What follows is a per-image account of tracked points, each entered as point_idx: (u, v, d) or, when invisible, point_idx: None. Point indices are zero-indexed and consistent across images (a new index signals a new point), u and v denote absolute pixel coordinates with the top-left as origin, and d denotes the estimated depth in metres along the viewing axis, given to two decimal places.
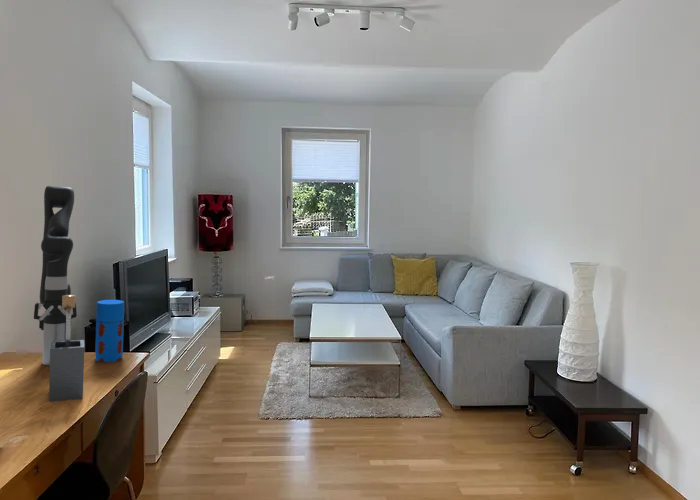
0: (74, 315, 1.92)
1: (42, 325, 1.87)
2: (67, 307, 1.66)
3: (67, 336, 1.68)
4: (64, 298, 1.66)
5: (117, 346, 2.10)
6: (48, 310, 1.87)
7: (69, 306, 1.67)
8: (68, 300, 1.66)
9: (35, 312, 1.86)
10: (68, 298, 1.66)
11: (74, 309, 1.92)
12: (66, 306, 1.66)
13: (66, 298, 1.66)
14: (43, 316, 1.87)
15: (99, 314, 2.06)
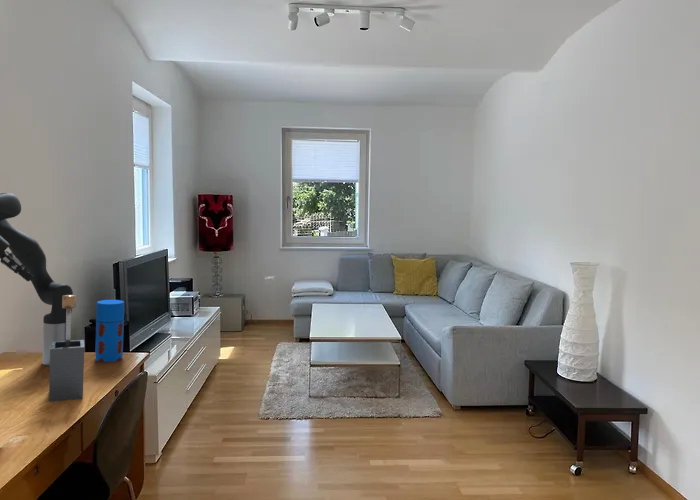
0: (19, 261, 1.64)
1: None
2: (67, 307, 1.66)
3: (67, 336, 1.68)
4: (64, 298, 1.66)
5: (117, 346, 2.10)
6: (15, 258, 1.56)
7: (69, 306, 1.67)
8: (68, 300, 1.66)
9: (16, 262, 1.53)
10: (68, 298, 1.66)
11: None
12: (66, 306, 1.66)
13: (66, 298, 1.66)
14: (20, 265, 1.56)
15: (99, 314, 2.06)
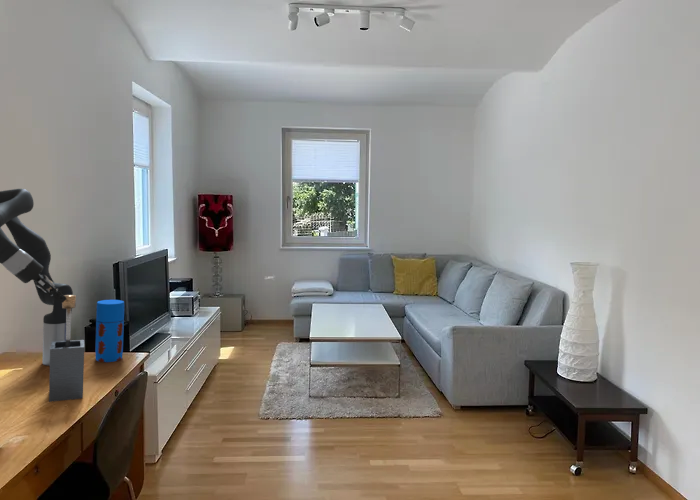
0: None
1: None
2: (67, 307, 1.66)
3: (67, 336, 1.68)
4: None
5: (117, 346, 2.10)
6: (49, 280, 1.61)
7: (69, 306, 1.67)
8: (68, 300, 1.66)
9: (50, 285, 1.58)
10: (68, 298, 1.66)
11: None
12: (66, 306, 1.66)
13: None
14: (54, 287, 1.61)
15: (99, 314, 2.06)
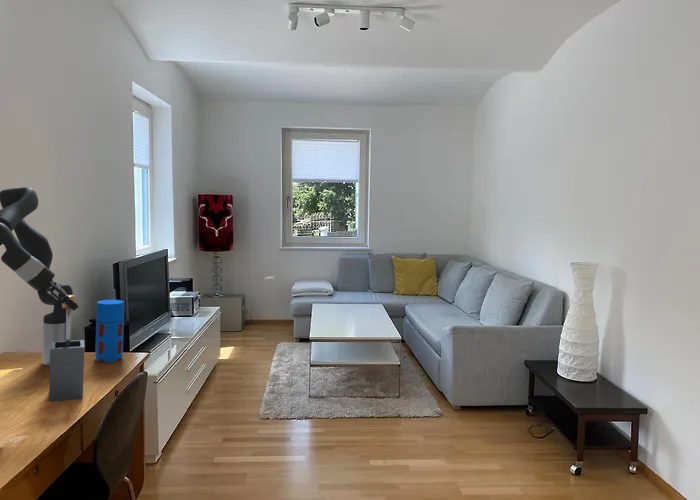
0: None
1: None
2: (67, 307, 1.66)
3: (67, 336, 1.68)
4: None
5: (117, 346, 2.10)
6: (60, 288, 1.65)
7: None
8: None
9: (64, 294, 1.62)
10: None
11: None
12: (66, 306, 1.66)
13: None
14: (66, 295, 1.65)
15: (99, 314, 2.06)
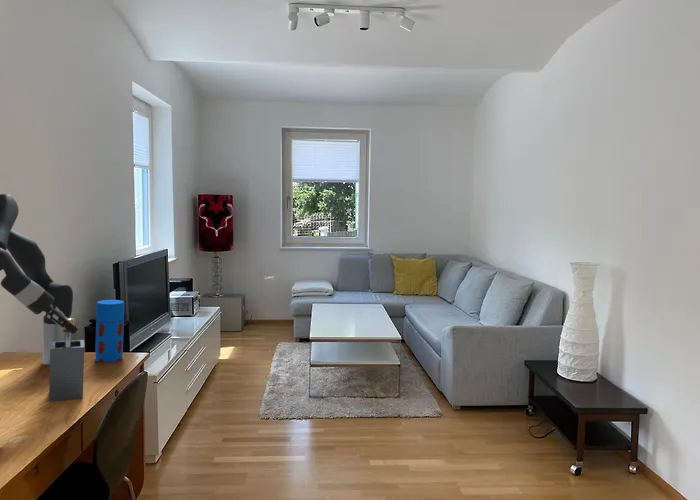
0: (64, 315, 1.72)
1: None
2: (66, 331, 1.67)
3: None
4: None
5: (117, 346, 2.10)
6: (60, 311, 1.65)
7: None
8: None
9: (63, 318, 1.63)
10: None
11: None
12: (65, 330, 1.67)
13: None
14: (65, 318, 1.66)
15: (99, 314, 2.06)
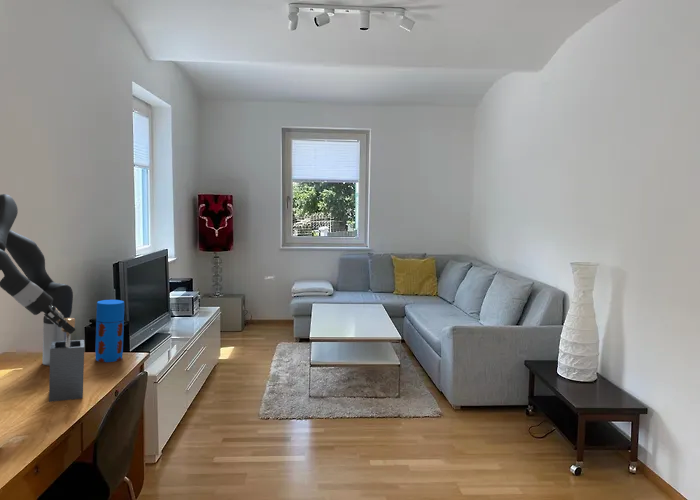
0: None
1: None
2: None
3: None
4: None
5: (117, 346, 2.10)
6: (58, 312, 1.64)
7: None
8: None
9: (60, 317, 1.61)
10: (67, 322, 1.67)
11: None
12: None
13: None
14: (63, 318, 1.64)
15: (99, 314, 2.06)
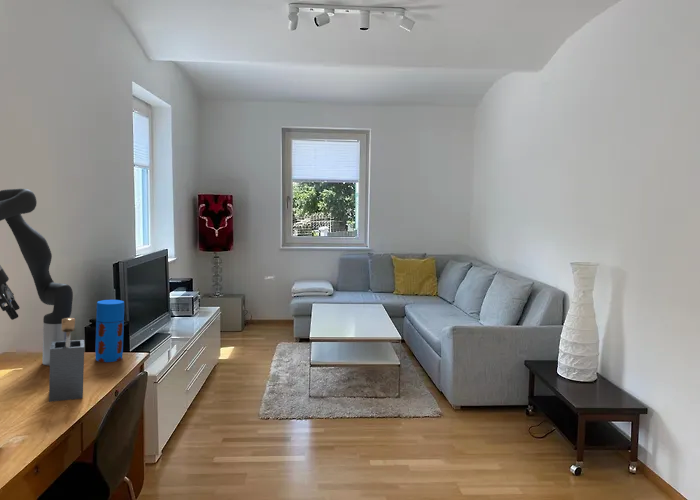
0: (12, 293, 1.67)
1: (15, 312, 1.59)
2: (66, 330, 1.67)
3: None
4: (63, 321, 1.67)
5: (117, 346, 2.10)
6: (8, 294, 1.59)
7: (68, 329, 1.67)
8: (68, 323, 1.67)
9: (7, 300, 1.55)
10: (67, 322, 1.67)
11: (8, 287, 1.66)
12: (65, 329, 1.67)
13: (65, 321, 1.67)
14: (10, 302, 1.58)
15: (99, 314, 2.06)
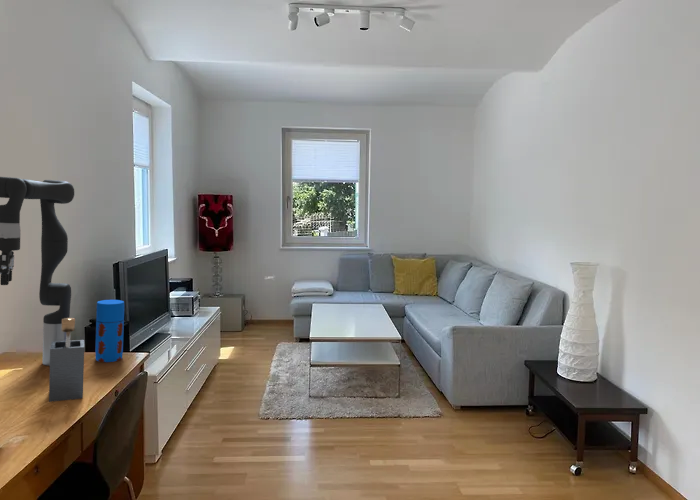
0: (13, 265, 1.73)
1: None
2: (66, 330, 1.67)
3: None
4: (63, 321, 1.67)
5: (117, 346, 2.10)
6: (11, 261, 1.66)
7: (68, 329, 1.67)
8: (68, 323, 1.67)
9: (8, 265, 1.62)
10: (67, 322, 1.67)
11: None
12: (65, 329, 1.67)
13: (65, 321, 1.67)
14: (9, 269, 1.64)
15: (99, 314, 2.06)
